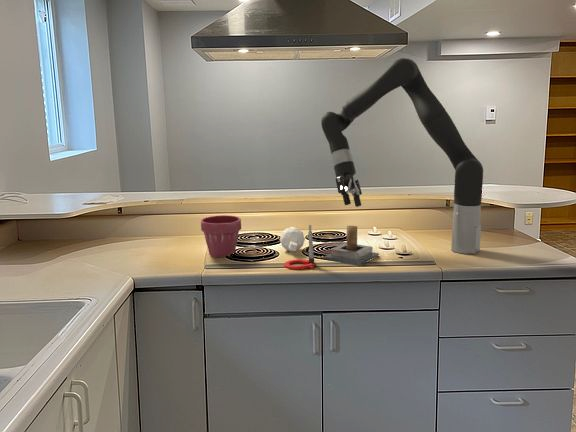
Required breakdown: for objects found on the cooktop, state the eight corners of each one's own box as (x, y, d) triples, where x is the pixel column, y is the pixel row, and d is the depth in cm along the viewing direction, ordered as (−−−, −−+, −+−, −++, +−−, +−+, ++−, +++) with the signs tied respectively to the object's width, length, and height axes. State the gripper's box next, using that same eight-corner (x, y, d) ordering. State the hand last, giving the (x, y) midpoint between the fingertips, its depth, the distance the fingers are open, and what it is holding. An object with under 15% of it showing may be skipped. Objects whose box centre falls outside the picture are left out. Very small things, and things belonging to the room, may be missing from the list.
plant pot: (193, 254, 202) (192, 219, 199) (224, 246, 212) (223, 213, 209) (218, 262, 192) (217, 225, 190) (250, 253, 202) (249, 218, 199)
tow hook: (283, 271, 183) (314, 270, 183) (281, 229, 181) (312, 228, 180) (285, 263, 192) (314, 262, 192) (282, 223, 189) (312, 222, 189)
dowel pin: (358, 257, 197) (359, 226, 195) (353, 259, 194) (354, 228, 192) (349, 255, 199) (349, 225, 197) (344, 258, 196) (345, 227, 194)
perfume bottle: (276, 242, 210) (277, 255, 199) (284, 220, 207) (285, 231, 196) (299, 248, 211) (301, 261, 200) (306, 226, 209) (309, 238, 197)
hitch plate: (378, 256, 198) (379, 246, 198) (360, 265, 187) (360, 255, 186) (343, 250, 206) (343, 240, 205) (324, 259, 195) (324, 249, 194)
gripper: (343, 157, 202) (353, 201, 199) (360, 162, 214) (370, 203, 211) (325, 164, 206) (335, 207, 203) (343, 169, 218) (353, 209, 214)
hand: (353, 205), depth 207 cm, fingers open, 8 cm apart
